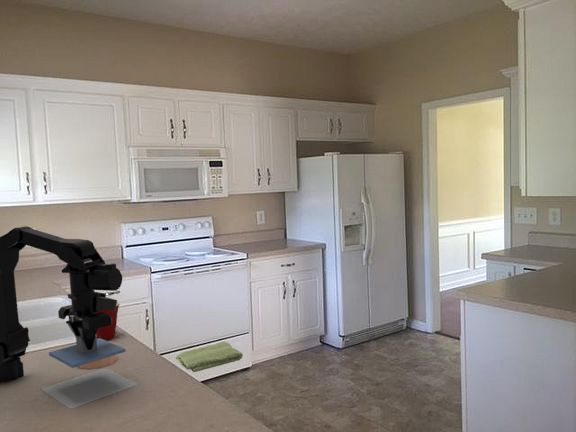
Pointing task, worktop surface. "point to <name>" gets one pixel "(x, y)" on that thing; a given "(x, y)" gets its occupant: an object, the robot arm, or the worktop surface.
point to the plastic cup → (108, 331)
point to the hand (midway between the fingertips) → (86, 348)
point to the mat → (88, 387)
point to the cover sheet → (86, 352)
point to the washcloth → (209, 356)
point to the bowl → (100, 362)
